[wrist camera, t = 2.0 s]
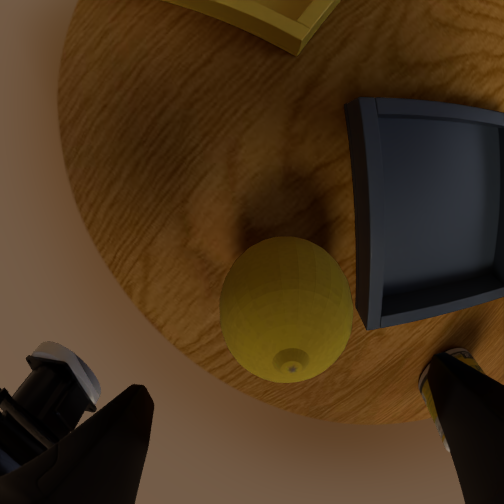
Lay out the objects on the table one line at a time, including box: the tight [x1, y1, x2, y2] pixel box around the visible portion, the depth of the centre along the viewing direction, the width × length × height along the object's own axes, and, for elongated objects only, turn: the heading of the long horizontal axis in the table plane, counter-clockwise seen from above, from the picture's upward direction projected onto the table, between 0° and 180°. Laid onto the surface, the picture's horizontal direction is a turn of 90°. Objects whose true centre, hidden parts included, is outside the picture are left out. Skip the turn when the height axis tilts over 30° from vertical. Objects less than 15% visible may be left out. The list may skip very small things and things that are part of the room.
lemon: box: [220, 236, 353, 383], centre depth 12 cm, size 6×6×8 cm
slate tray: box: [344, 97, 504, 330], centre depth 13 cm, size 12×12×2 cm
